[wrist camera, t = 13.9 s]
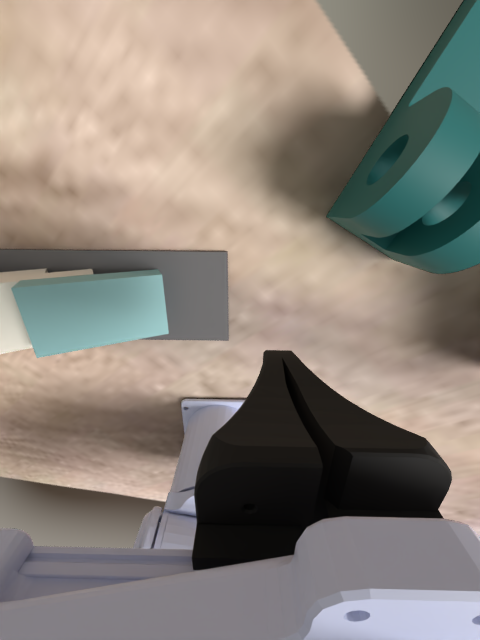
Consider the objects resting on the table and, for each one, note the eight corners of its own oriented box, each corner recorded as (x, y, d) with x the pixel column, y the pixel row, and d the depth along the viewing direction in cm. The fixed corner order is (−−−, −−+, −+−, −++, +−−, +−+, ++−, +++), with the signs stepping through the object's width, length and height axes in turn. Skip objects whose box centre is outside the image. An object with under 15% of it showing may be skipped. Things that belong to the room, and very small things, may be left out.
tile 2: (107, 332, 21) (-42, 362, 17) (104, 323, 23) (-32, 349, 18) (93, 273, 19) (-80, 291, 15) (92, 268, 21) (-66, 283, 16)
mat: (228, 339, 23) (228, 340, 23) (-25, 335, 24) (-28, 337, 23) (227, 251, 20) (227, 252, 20) (-67, 248, 20) (-71, 249, 20)
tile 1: (168, 333, 21) (36, 357, 17) (164, 324, 23) (43, 344, 19) (161, 274, 19) (10, 288, 15) (157, 269, 21) (20, 280, 17)
